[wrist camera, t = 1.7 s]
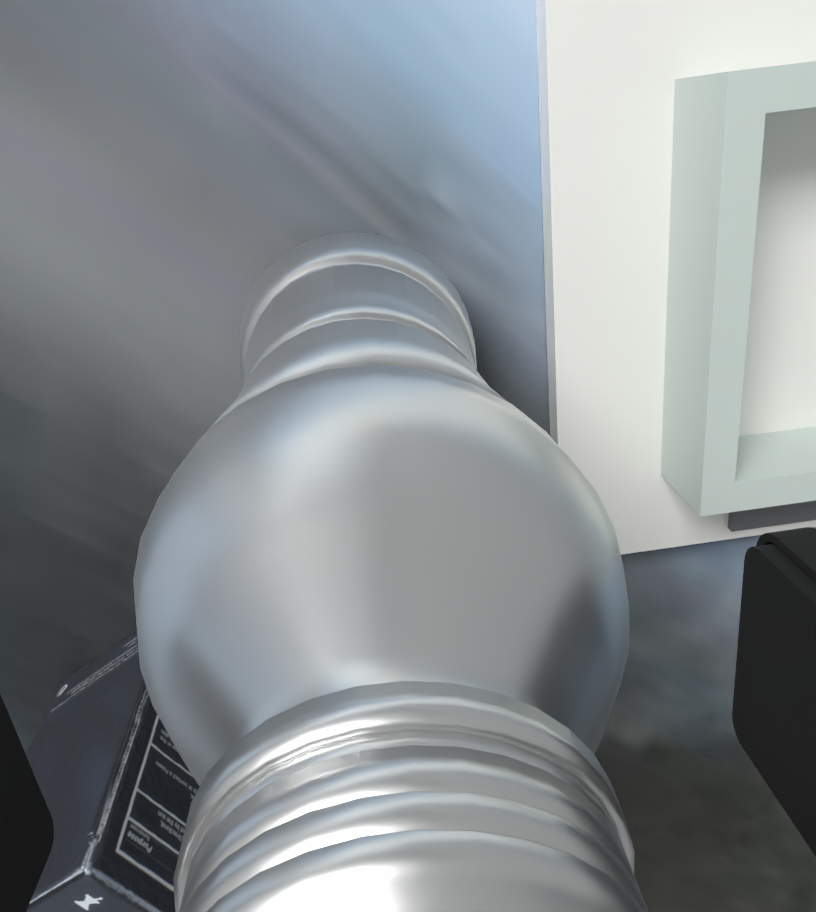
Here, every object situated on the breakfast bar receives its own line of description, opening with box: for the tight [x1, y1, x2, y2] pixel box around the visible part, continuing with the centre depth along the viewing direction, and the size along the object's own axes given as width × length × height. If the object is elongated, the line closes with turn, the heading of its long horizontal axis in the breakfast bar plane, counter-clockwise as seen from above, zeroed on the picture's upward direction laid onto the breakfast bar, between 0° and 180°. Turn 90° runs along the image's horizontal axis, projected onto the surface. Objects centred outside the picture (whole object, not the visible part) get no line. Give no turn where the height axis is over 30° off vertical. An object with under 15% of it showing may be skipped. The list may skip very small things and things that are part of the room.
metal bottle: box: [133, 232, 648, 912], centre depth 14 cm, size 6×7×20 cm
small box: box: [26, 631, 200, 912], centre depth 24 cm, size 11×6×10 cm, turn 36°
